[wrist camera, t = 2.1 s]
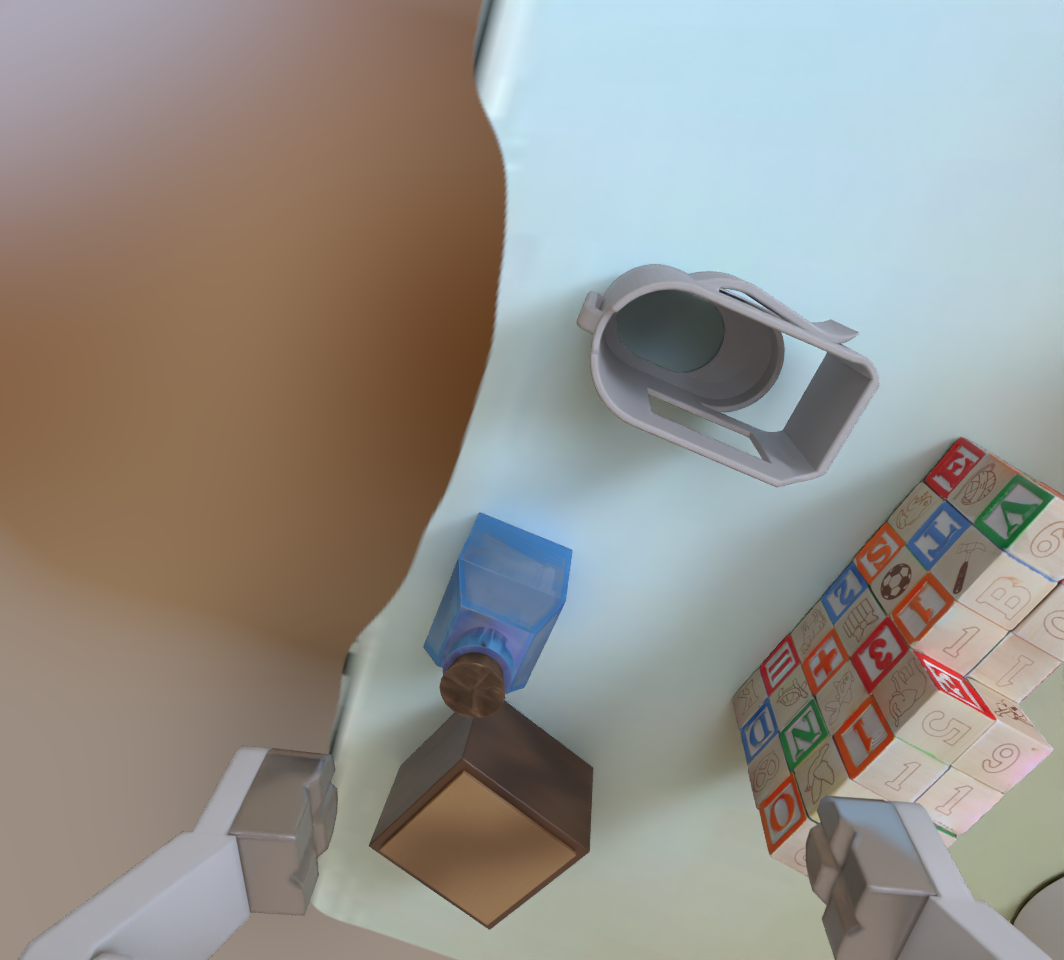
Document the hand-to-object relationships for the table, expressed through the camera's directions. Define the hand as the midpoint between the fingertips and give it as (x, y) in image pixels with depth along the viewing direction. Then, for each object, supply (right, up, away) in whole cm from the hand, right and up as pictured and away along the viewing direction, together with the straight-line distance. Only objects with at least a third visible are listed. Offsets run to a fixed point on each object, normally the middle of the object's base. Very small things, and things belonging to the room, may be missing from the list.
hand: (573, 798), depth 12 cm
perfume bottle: (-2, 0, +33) cm, 33 cm away
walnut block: (-3, -15, +38) cm, 41 cm away
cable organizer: (+9, +13, +26) cm, 31 cm away
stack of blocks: (+20, -2, +31) cm, 37 cm away
